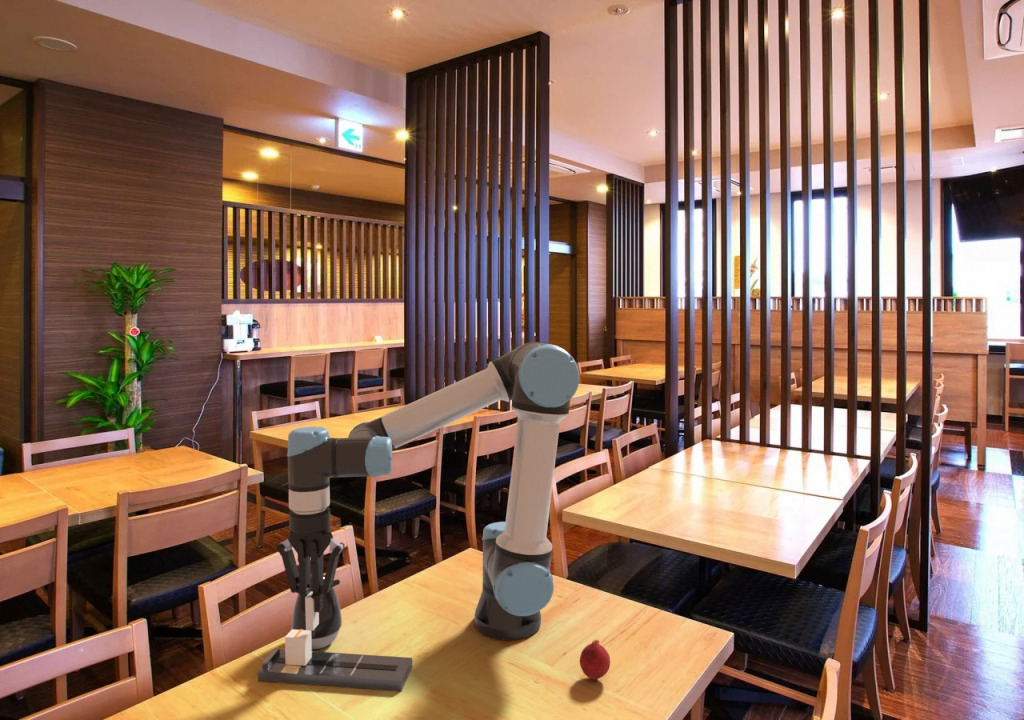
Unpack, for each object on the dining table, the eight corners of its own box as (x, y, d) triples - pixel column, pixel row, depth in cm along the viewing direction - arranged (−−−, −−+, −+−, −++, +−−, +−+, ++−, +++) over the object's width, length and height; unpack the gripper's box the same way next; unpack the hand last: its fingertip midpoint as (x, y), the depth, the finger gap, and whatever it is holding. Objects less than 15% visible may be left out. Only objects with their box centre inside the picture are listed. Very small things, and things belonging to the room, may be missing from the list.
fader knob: (311, 657, 126) (311, 629, 126) (305, 665, 123) (304, 637, 123) (292, 656, 126) (291, 628, 126) (285, 664, 123) (285, 636, 123)
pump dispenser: (328, 658, 130) (327, 586, 128) (282, 652, 132) (281, 581, 130) (351, 633, 140) (350, 566, 138) (307, 628, 142) (306, 562, 140)
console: (412, 667, 127) (412, 653, 127) (401, 691, 119) (401, 675, 119) (277, 658, 129) (277, 644, 129) (258, 681, 122) (257, 666, 121)
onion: (601, 692, 119) (602, 651, 119) (574, 682, 122) (575, 642, 122) (614, 677, 124) (615, 637, 124) (587, 668, 127) (588, 629, 127)
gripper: (349, 503, 125) (351, 619, 127) (285, 501, 126) (288, 615, 128) (335, 515, 118) (337, 638, 120) (267, 513, 119) (271, 634, 121)
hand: (312, 626), depth 124 cm, fingers closed
